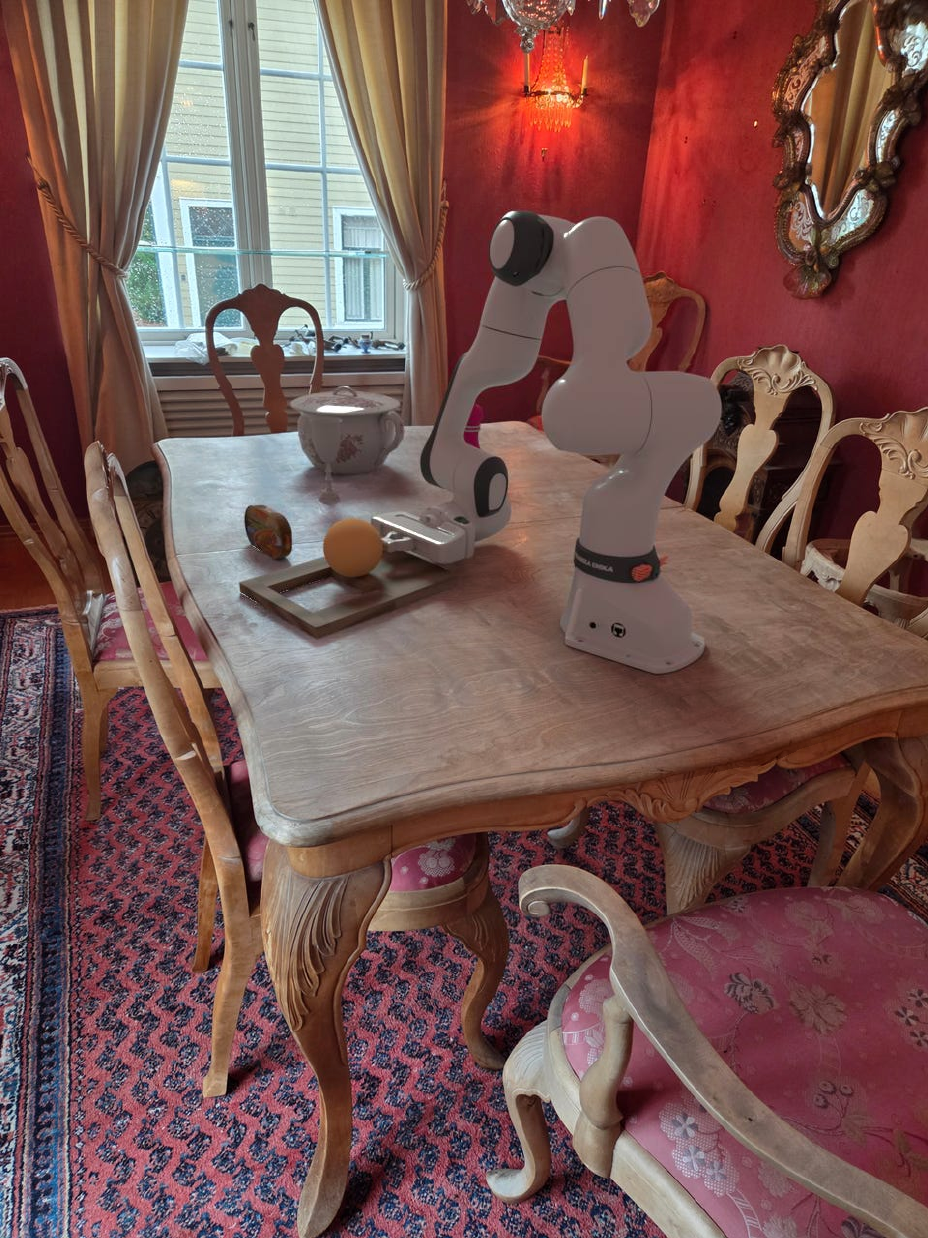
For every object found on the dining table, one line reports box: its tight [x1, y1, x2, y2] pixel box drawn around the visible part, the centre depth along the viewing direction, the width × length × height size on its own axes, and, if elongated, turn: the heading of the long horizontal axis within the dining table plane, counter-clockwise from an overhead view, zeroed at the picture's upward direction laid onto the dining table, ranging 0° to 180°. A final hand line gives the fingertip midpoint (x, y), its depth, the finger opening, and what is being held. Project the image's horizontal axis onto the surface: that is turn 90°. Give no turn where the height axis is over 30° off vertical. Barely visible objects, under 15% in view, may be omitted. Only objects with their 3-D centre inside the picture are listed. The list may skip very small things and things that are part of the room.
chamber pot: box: [289, 385, 405, 476], centre depth 193 cm, size 28×28×21 cm
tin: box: [243, 504, 293, 560], centre depth 144 cm, size 15×3×8 cm, turn 40°
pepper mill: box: [463, 401, 484, 449], centre depth 188 cm, size 7×7×20 cm
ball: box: [322, 517, 383, 577], centre depth 129 cm, size 10×10×10 cm
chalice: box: [309, 417, 342, 504], centre depth 170 cm, size 7×7×18 cm
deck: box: [238, 550, 460, 640], centre depth 131 cm, size 22×30×2 cm
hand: (383, 546), depth 133 cm, fingers closed
